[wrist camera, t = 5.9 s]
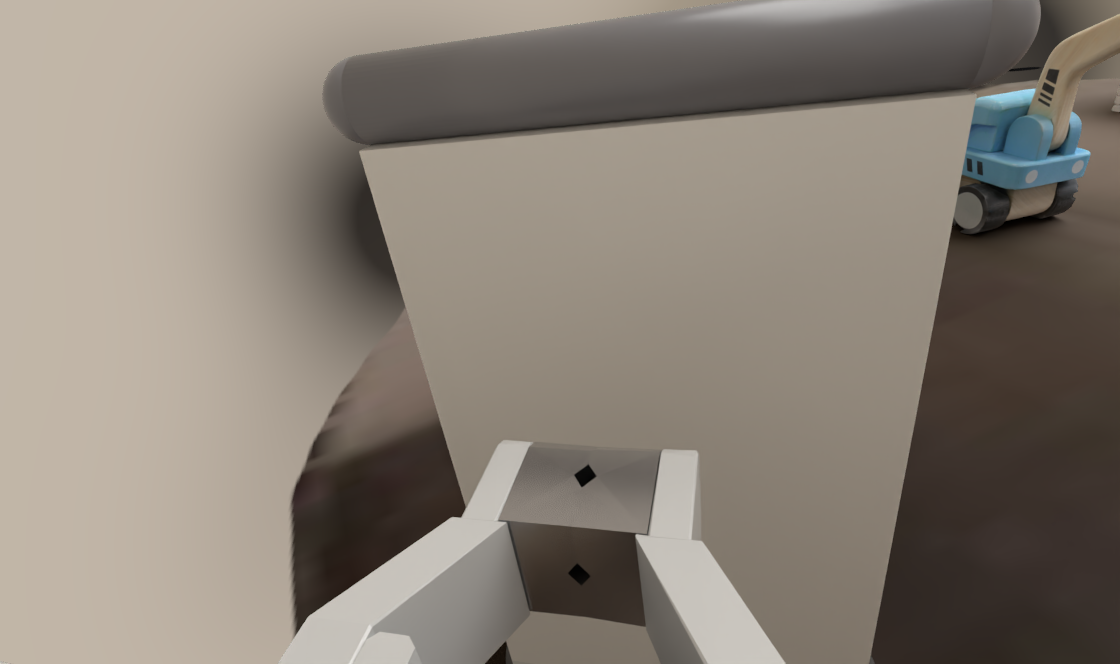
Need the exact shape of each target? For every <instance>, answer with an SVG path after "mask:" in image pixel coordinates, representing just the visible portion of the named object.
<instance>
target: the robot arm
mask: <svg viewBox="0 0 1120 664" xmlns="http://www.w3.org/2000/svg"><path fill="white" fill-rule="evenodd" d="M530 611H534V612H543V613H553V614H562V615H571V616H580V617H588V618H594V619H601V620H607V621H613V622H619V623H625V624H631V625H637V626H643V627H646V631H647V633H648V635H649V638H650V640H651V642H652V644H653V647H654V649H655V651H656V654H657V656H658V658H659V661H660V663H661V664H786V663H785V662H784V660H783V659H782V657H781V656H780V654H779V653H778V652H777V650H776V649H775V647H774V646H773V644H772V643H771V641H770V640H769V638H768V637H767V635H766V634H765V632H764V631H763V629H762V628H761V627H760V625H759V624H758V622H757V621H756V619H755V618H754V616H753V615H752V613H751V612H750V610H749V609H748V607H747V606H746V604H745V603H744V601H743V600H742V599H741V597H740V596H739V594H738V593H737V591H736V590H735V588H734V587H733V585H732V584H731V582H730V581H729V579H728V578H727V576H726V575H725V574H724V572H723V571H722V569H721V568H720V566H719V565H718V563H717V562H716V560H715V559H714V557H713V556H712V554H711V553H710V551H709V550H708V549H707V547H706V546H705V544H704V543H703V541H701V492H700V460H699V453H698V452H697V451H696V450H670V449H663V450H656V449H636V448H615V447H595V446H582V445H570V444H557V443H545V442H534V443H533V442H524V441H512V440H503V441H502V442H501V443H499V444H498V445H497V447H496V449H495V451H494V453H493V455H492V457H491V459H490V461H489V463H488V465H487V467H486V469H485V471H484V473H483V475H482V477H481V479H480V481H479V483H478V485H477V487H476V489H475V491H474V493H473V495H472V497H471V499H470V501H469V503H468V505H467V507H466V509H465V511H464V513H463V515H462V517H461V518H457V517H451V518H450V519H448V520H447V521H446V522H444V523H443V524H441V525H440V526H438V527H437V528H435V529H434V530H433V531H431V532H430V533H428V534H427V535H425V536H424V537H422V538H421V539H420V540H418V541H417V542H415V543H414V544H412V545H411V546H409V547H408V548H407V549H405V550H404V551H402V552H401V553H399V554H398V555H397V556H395V557H394V558H392V559H391V560H389V561H388V562H386V563H385V564H384V565H382V566H381V567H379V568H378V569H376V570H375V571H373V572H372V573H371V574H369V575H368V576H366V577H365V578H363V579H362V580H360V581H359V582H358V583H356V584H355V585H353V586H352V587H350V588H349V589H347V590H346V591H345V592H343V593H342V594H340V595H339V596H337V597H336V598H334V599H333V600H332V601H330V602H329V603H327V604H326V605H324V606H323V607H321V608H320V609H319V610H317V611H316V612H314V613H313V614H311V615H310V616H309V617H308V618H307V619H306V621H305V622H304V624H303V625H302V627H301V629H300V630H299V632H298V633H297V635H296V636H295V638H294V639H293V641H292V642H291V644H290V645H289V647H288V648H287V650H286V651H285V653H284V655H283V656H282V658H281V659H280V661H279V662H278V664H485V663H486V662H487V661H488V659H489V658H490V657H491V656H492V655H493V654H494V653H495V652H496V651H497V650H498V649H499V648H500V647H501V646H502V645H503V643H504V642H505V641H506V640H507V639H508V638H509V637H510V636H511V635H512V634H513V633H514V632H515V631H516V630H517V628H518V627H519V626H520V625H521V624H522V623H523V622H524V621H525V620H526V619H527V618H528V617H529V616H530ZM0 664H10V663H6V662H0Z"/></svg>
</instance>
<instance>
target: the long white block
mask: <svg viewBox="0 0 1120 664" xmlns="http://www.w3.org/2000/svg"><path fill="white" fill-rule="evenodd" d="M1119 86H1120V85H1119ZM1117 95H1118V97H1116V98H1115V101H1114V103H1116V105H1113V108H1112V111H1116V112H1120V88H1118V91H1117Z"/></svg>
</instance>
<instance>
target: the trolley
mask: <svg viewBox="0 0 1120 664" xmlns="http://www.w3.org/2000/svg"><path fill="white" fill-rule="evenodd" d="M1040 15H1041V10H1040V3H1039V0H742V1H735V2H728V3H721V4H714V5H708V6H700V7H693V8H686V9H679V10H672V11H665V12H658V13H651V14H644V15H637V16H630V17H623V18H616V19H609V20H602V21H595V22H588V23H581V24H574V25H567V26H560V27H553V28H546V29H539V30H532V31H525V32H518V33H511V34H504V35H497V36H490V37H483V38H476V39H469V40H462V41H454V42H448V43H441V44H433V45H426V46H419V47H412V48H406V49H399V50H391V51H384V52H377V53H371V54H363V55H356V56H352V57H348V58H346V59H344V60H342V61H340V62H339V63H337V64H336V65H335V66H334V67H333V68H332V69H331V71H330V72H329V74H328V76H327V77H326V80H325V82H324V86H323V105H324V109H325V112H326V114H327V116H328V118H329V120H330V121H331V123H332V124H333V126H334V127H335V128H336V129H337V131H339V132H340V133H341V134H342V135H343V136H345V137H346V138H348V139H350V140H352V141H354V142H356V143H360V144H365V145H370V146H368V147H366V148H364V149H363V150H361V151H359V153H360V156H361V159H362V163H363V166H364V169H365V173H366V176H367V179H368V183H369V186H370V189H371V192H372V196H373V199H374V202H375V206H376V209H377V212H378V216H379V219H380V223H381V226H382V229H383V232H384V236H385V239H386V243H387V246H388V249H389V252H390V255H391V259H392V262H393V266H394V269H395V273H396V275H397V279H398V282H399V286H400V289H401V293H402V296H403V299H404V303H405V306H406V309H407V313H408V316H409V319H410V323H411V326H412V329H413V332H414V336H415V339H416V342H417V346H418V349H419V352H420V356H421V359H422V362H423V366H424V369H425V372H426V376H427V379H428V382H429V386H430V389H431V392H432V396H433V399H434V402H435V406H436V409H437V412H438V416H439V419H440V422H441V426H442V429H443V432H444V436H445V439H446V442H447V446H448V449H449V452H450V456H451V459H452V462H453V466H454V469H455V472H456V476H457V479H458V482H459V486H460V489H461V492H462V496H463V499H464V502H465V506H466V507H467V505H468V503H469V501H470V499H471V497H472V495H473V493H474V491H475V489H476V487H477V485H478V483H479V481H480V479H481V477H482V475H483V473H484V471H485V469H486V467H487V465H488V463H489V461H490V459H491V457H492V455H493V453H494V451H495V449H496V447H497V445H498V444H499V443H501V442H502V441H503V440H512V441H524V442H533V443H534V442H545V443H557V444H570V445H582V446H595V447H615V448H636V449H656V450H663V449H670V450H696V451H697V452H698V453H699V460H700V492H701V541H703V543H704V544H705V546H706V547H707V549H708V550H709V551H710V553H711V554H712V556H713V557H714V559H715V560H716V562H717V563H718V565H719V566H720V568H721V569H722V571H723V572H724V574H725V575H726V576H727V578H728V579H729V581H730V582H731V584H732V585H733V587H734V588H735V590H736V591H737V593H738V594H739V596H740V597H741V599H742V600H743V601H744V603H745V604H746V606H747V607H748V609H749V610H750V612H751V613H752V615H753V616H754V618H755V619H756V621H757V622H758V624H759V625H760V627H761V628H762V629H763V631H764V632H765V634H766V635H767V637H768V638H769V640H770V641H771V643H772V644H773V646H774V647H775V649H776V650H777V652H778V653H779V654H780V656H781V657H782V659H783V660H784V662H785V663H786V664H875V663H874V661H873V658H872V656H871V650H872V645H873V640H874V635H875V629H876V624H877V619H878V613H879V608H880V603H881V598H882V592H883V587H884V582H885V577H886V571H887V566H888V561H889V555H890V550H891V545H892V540H893V534H894V529H895V524H896V518H897V513H898V508H899V503H900V497H901V492H902V487H903V481H904V476H905V471H906V466H907V460H908V455H909V450H910V444H911V439H912V434H913V429H914V423H915V418H916V413H917V407H918V402H919V397H920V392H921V386H922V381H923V376H924V371H925V365H926V360H927V355H928V349H929V344H930V339H931V334H932V328H933V323H934V318H935V312H936V307H937V302H938V297H939V291H940V286H941V281H942V275H943V270H944V265H945V260H946V254H947V249H948V244H949V238H950V233H951V228H952V223H953V217H954V212H955V207H956V201H957V196H958V191H959V186H960V180H961V175H962V170H963V165H964V159H965V154H966V149H967V143H968V138H969V133H970V128H971V122H972V117H973V112H974V106H975V101H976V96H977V94H975V93H973V92H971V91H970V90H968V89H969V88H974V87H978V86H980V85H983V84H986V83H989V82H991V81H993V80H995V79H997V78H998V77H1000V76H1002V75H1003V74H1005V73H1006V72H1007V71H1008V70H1010V69H1011V68H1012V67H1013V66H1015V65H1016V64H1017V63H1018V62H1019V61H1020V59H1021V58H1022V57H1023V56H1024V55H1025V54H1026V52H1027V51H1028V49H1029V47H1030V46H1031V44H1032V42H1033V40H1034V39H1035V36H1036V34H1037V31H1038V28H1039V23H1040ZM506 642H507V648H506V664H661V663H660V661H659V658H658V656H657V654H656V651H655V649H654V647H653V644H652V642H651V640H650V638H649V635H648V633H647V631H646V627H643V626H637V625H631V624H625V623H619V622H613V621H607V620H601V619H594V618H588V617H580V616H571V615H562V614H553V613H543V612H534V611H530V616H529V617H528V618H527V619H526V620H525V621H524V622H523V623H522V624H521V625H520V626H519V627H518V628H517V630H516V631H515V632H514V633H513V634H512V635H511V636H510V637H509V638H508V639H507V640H506Z"/></svg>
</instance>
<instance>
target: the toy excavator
mask: <svg viewBox="0 0 1120 664" xmlns="http://www.w3.org/2000/svg"><path fill="white" fill-rule="evenodd" d="M1118 53H1120V14H1118V15H1116V16H1114V17H1112V18H1110V19H1107V20H1105V21H1103V22H1101V23H1099V24H1096V25H1094V26H1092V27H1090V28H1088V29H1086V30H1083V31H1081V32H1079V33H1077V34H1075V35H1073V36H1071V37H1069V38H1067V39H1066V40H1064V41H1062V42H1061V43H1060V44H1059V45H1058V46H1056V48H1055V49H1054V50H1053V52H1052V53H1051V54H1050V56H1049V58H1048V60H1047V62H1046V64H1045V66H1044V69H1043V71H1042V74H1041V77H1040V79H1039V82H1038V85H1037V87H1036V89H1027V90H1021V91H1015V92H1010V93H1004V94H998V95H992V96H986V97H980V98H977V99H976V101H975V106H974V112H973V117H972V122H971V128H970V133H969V138H968V143H967V149H966V154H965V159H964V165H963V170H962V175H961V180H960V186H959V191H958V196H957V201H956V207H955V212H954V217H953V223H954V226H956V225H957V224H958V225H960V226H961V227H962V228H963V229H964V230H962V231H960V232H962V233H964V234H975V233H979V232H983V231H988V230H992V229H995V228H998V227H999V226H1001V225H1002V224H1003V223H1004V222H1005V221H1008V220H1012V219H1017V218H1021V217H1026V216H1032V217H1035V218H1038V219H1042V218H1046V217H1049V216H1054V215H1057V214H1060V213H1063V212H1065V211H1066V210H1068V209H1069V208H1070V207H1071V206H1072V204H1073V202H1074V201H1075V198H1074V197H1073V194H1074V193H1075V192H1077V191H1078V190H1077V189H1078V184H1077V181H1076V178H1080V177H1082V176H1083V175H1084V172H1085V169H1086V166H1087V164H1088V161H1089V158H1090V152H1089V151H1087V150H1084V149H1081V148H1077V145H1078V141H1079V138H1080V134H1081V127H1082V124H1081V120H1080V118H1079V117H1078V116H1077V115H1076V114H1075V113H1074V112H1072V108H1073V104H1074V100H1075V96H1076V92H1077V88H1078V85H1079V81H1080V79H1081V77H1082V76H1083V74H1084V73H1085V72H1086V71H1087V70H1089V69H1090V68H1092V67H1093V66H1095V65H1098V64H1100V63H1101V62H1103V61H1105V60H1107V59H1108V58H1110V57H1112V56H1114V55H1116V54H1118Z"/></svg>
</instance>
